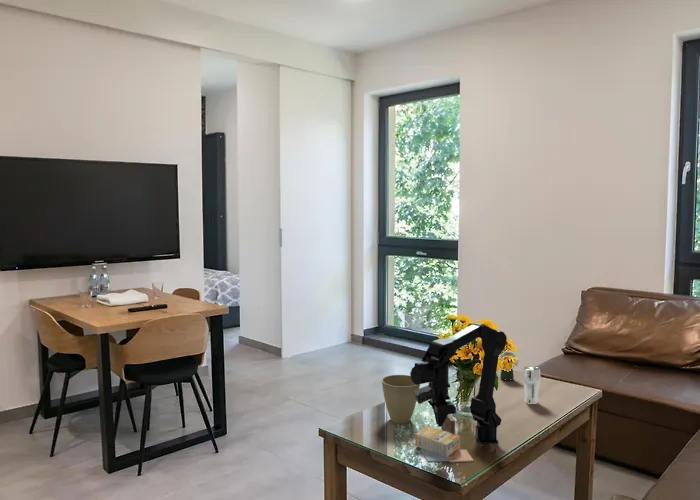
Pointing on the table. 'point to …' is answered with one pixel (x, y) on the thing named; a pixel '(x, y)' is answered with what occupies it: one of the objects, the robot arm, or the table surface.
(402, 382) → the plant pot
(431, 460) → the slate-blue mat
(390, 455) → the table surface
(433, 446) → the supplement box
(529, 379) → the beer glass
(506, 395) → the table surface
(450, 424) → the walnut screen
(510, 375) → the character mug
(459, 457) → the terracotta mat
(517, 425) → the table surface
